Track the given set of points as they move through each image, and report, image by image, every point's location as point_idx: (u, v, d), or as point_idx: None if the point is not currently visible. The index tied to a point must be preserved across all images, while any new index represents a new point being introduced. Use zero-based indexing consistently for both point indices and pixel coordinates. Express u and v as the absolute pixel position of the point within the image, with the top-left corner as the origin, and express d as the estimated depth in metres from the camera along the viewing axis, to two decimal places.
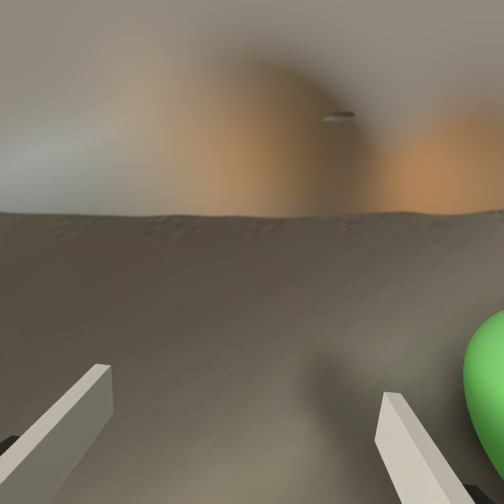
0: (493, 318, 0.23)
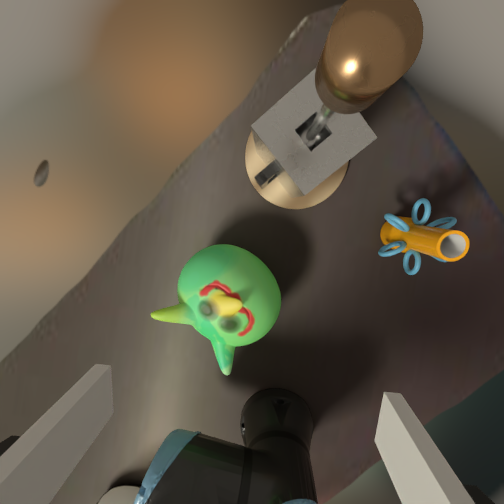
0: None
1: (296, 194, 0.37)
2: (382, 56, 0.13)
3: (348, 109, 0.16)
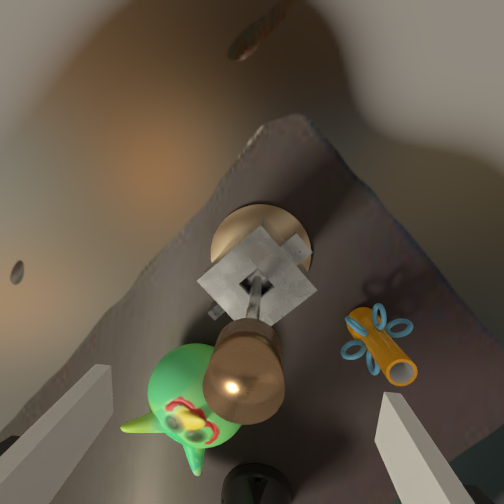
0: None
1: None
2: (251, 402, 0.14)
3: None
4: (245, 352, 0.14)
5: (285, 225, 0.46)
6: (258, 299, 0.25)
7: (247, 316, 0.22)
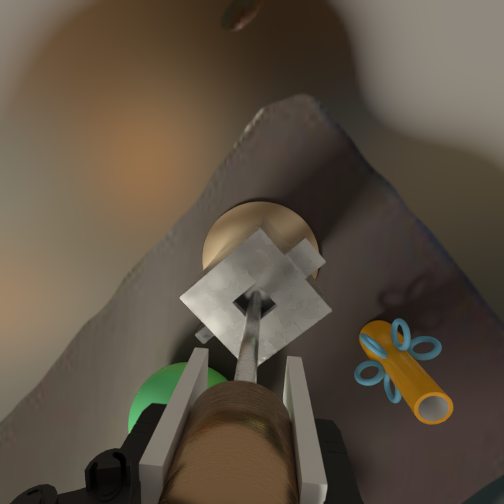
0: None
1: None
2: None
3: None
4: (228, 482, 0.07)
5: (289, 226, 0.39)
6: (256, 328, 0.19)
7: (240, 360, 0.15)
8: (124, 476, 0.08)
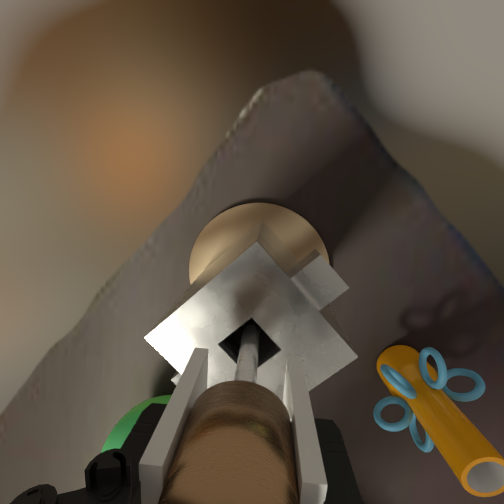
0: None
1: None
2: None
3: None
4: (228, 482, 0.07)
5: (293, 232, 0.32)
6: (256, 328, 0.19)
7: (240, 360, 0.15)
8: (124, 476, 0.08)
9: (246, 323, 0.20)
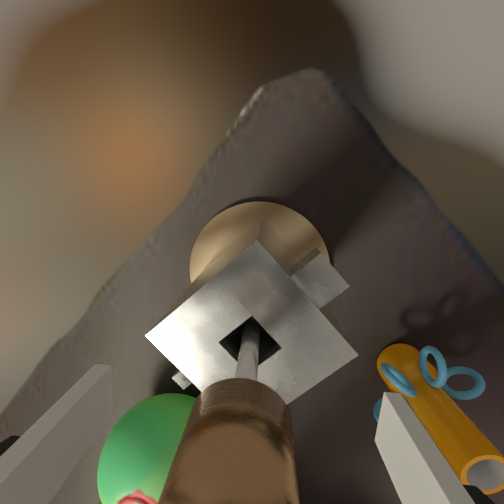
0: None
1: None
2: None
3: None
4: (229, 478, 0.07)
5: (294, 231, 0.32)
6: (256, 327, 0.19)
7: (241, 358, 0.15)
8: None
9: (246, 321, 0.20)
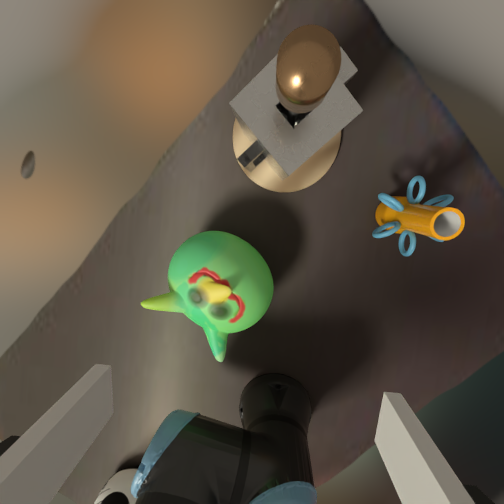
0: None
1: (283, 176, 0.36)
2: (314, 74, 0.18)
3: (300, 110, 0.22)
4: (312, 25, 0.18)
5: None
6: None
7: None
8: None
9: None
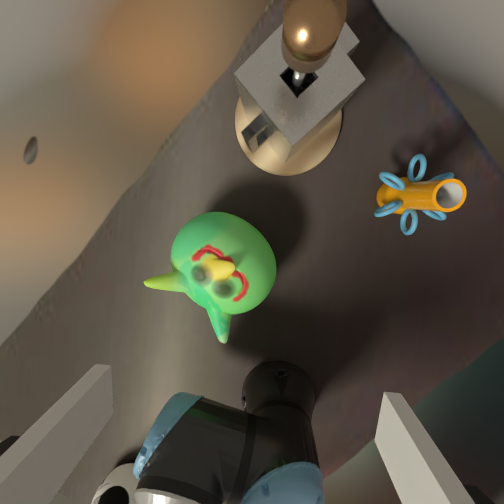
0: None
1: (286, 152, 0.36)
2: (320, 25, 0.19)
3: (305, 68, 0.22)
4: None
5: None
6: None
7: None
8: None
9: None
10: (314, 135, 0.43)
